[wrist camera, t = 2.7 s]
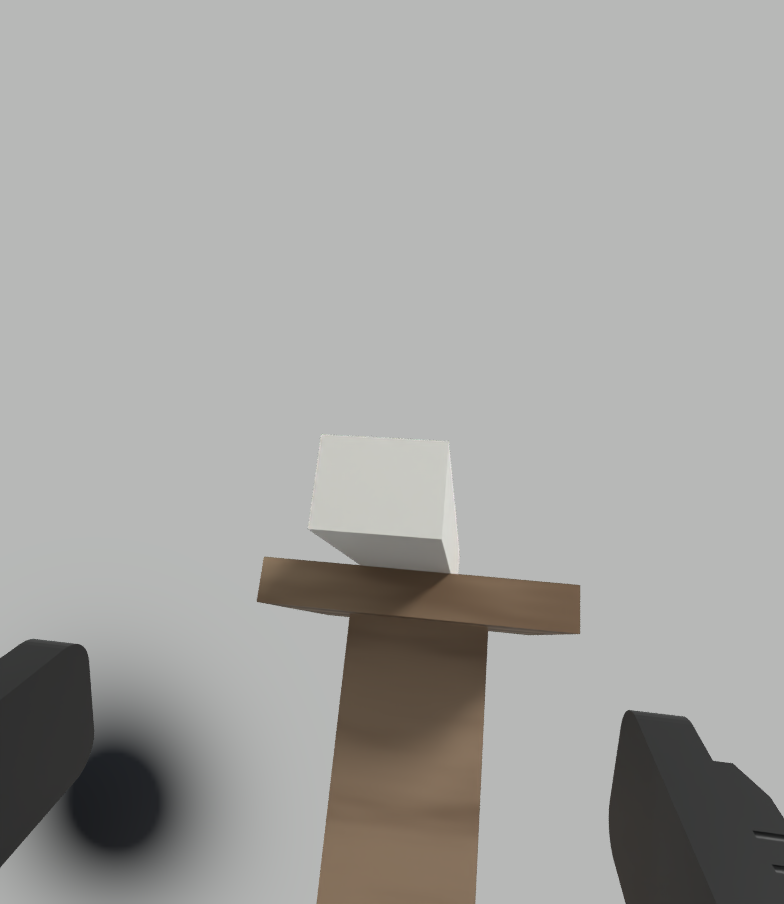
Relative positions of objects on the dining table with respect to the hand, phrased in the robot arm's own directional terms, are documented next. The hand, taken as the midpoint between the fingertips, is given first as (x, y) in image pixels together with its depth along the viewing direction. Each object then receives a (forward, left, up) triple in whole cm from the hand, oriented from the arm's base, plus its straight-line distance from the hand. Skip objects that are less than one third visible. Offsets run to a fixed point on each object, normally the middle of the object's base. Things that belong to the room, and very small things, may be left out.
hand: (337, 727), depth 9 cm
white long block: (-7, -20, +4) cm, 21 cm away
